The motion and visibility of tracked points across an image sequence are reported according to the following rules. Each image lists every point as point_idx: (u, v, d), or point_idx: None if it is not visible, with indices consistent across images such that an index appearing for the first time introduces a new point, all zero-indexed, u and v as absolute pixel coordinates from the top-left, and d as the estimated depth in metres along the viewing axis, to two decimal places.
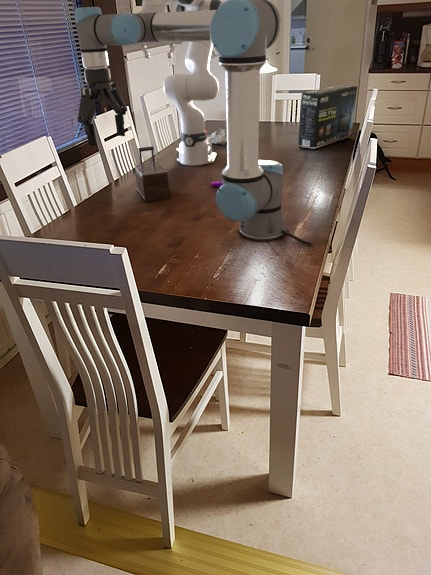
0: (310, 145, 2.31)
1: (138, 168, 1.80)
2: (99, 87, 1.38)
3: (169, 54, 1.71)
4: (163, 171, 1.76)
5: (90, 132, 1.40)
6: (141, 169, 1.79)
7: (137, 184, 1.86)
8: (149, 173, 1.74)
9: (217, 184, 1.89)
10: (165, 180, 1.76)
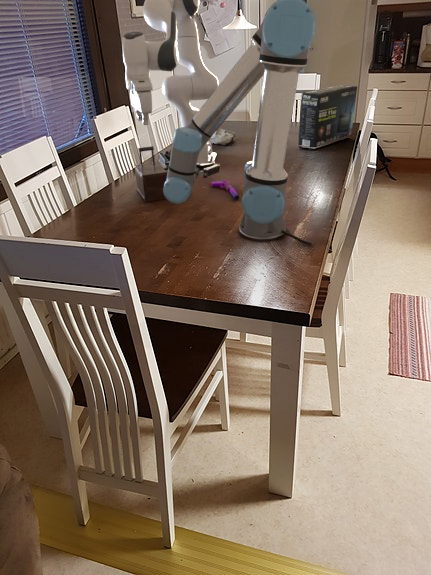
0: (310, 145, 2.31)
1: (138, 168, 1.80)
2: None
3: None
4: (163, 171, 1.76)
5: (213, 161, 1.53)
6: (141, 169, 1.79)
7: (137, 184, 1.86)
8: (149, 173, 1.74)
9: (217, 184, 1.89)
10: (165, 180, 1.76)
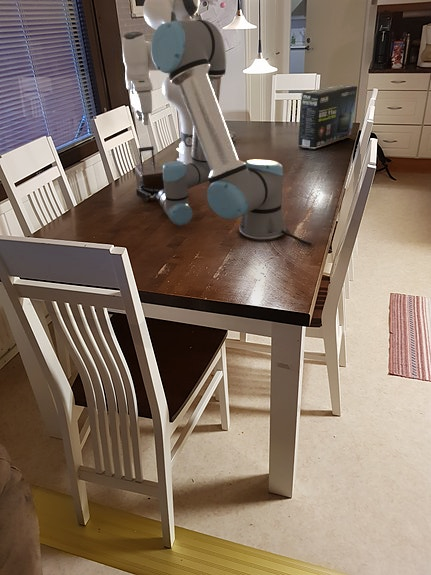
0: (310, 145, 2.31)
1: (138, 168, 1.80)
2: None
3: None
4: None
5: None
6: (141, 169, 1.79)
7: (137, 184, 1.86)
8: (149, 173, 1.74)
9: None
10: None
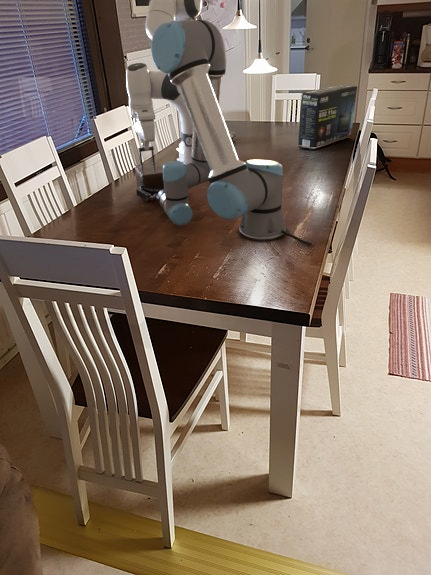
0: (310, 145, 2.31)
1: (138, 168, 1.80)
2: None
3: None
4: None
5: None
6: (141, 169, 1.79)
7: (137, 184, 1.86)
8: (149, 173, 1.74)
9: None
10: None
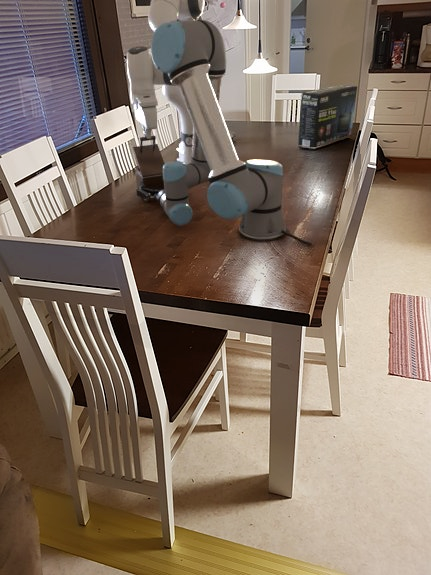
0: (310, 145, 2.31)
1: (137, 157, 1.76)
2: None
3: None
4: None
5: None
6: (141, 160, 1.75)
7: (137, 184, 1.86)
8: (149, 172, 1.73)
9: None
10: None
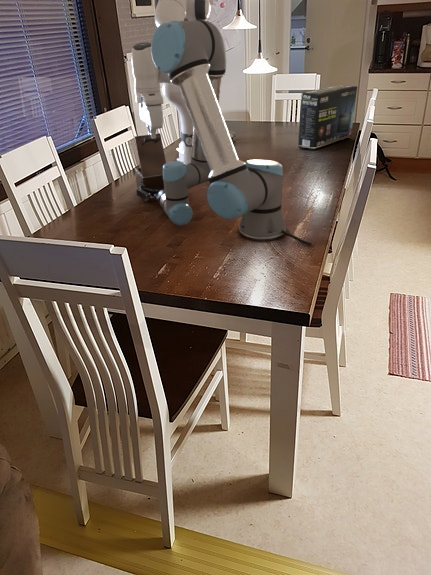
0: (310, 145, 2.31)
1: (138, 151, 1.71)
2: None
3: None
4: None
5: None
6: (142, 155, 1.71)
7: (137, 184, 1.86)
8: (150, 172, 1.73)
9: None
10: None
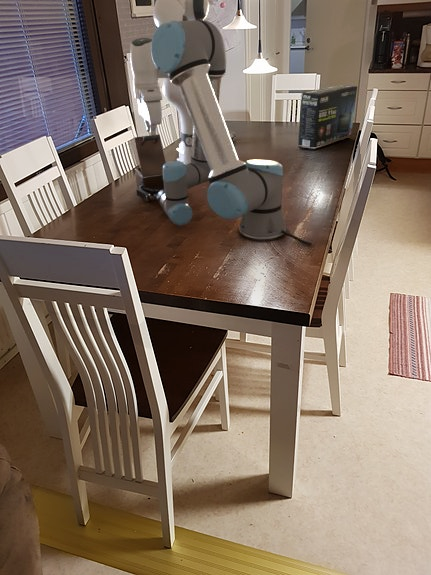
0: (310, 145, 2.31)
1: (138, 151, 1.72)
2: None
3: None
4: None
5: None
6: (142, 156, 1.72)
7: (137, 184, 1.86)
8: (150, 171, 1.73)
9: None
10: None
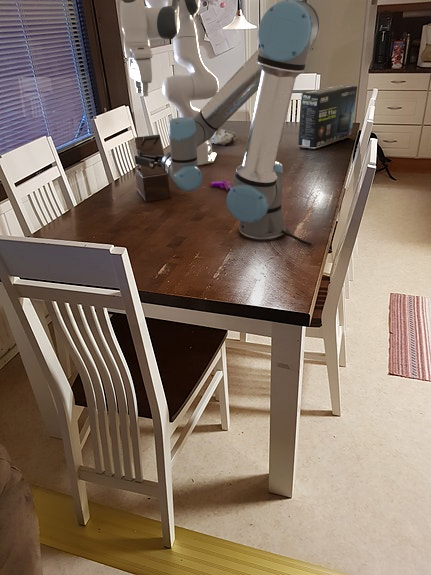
0: (310, 145, 2.31)
1: None
2: None
3: None
4: None
5: None
6: None
7: (137, 184, 1.86)
8: (150, 171, 1.73)
9: (217, 184, 1.89)
10: (165, 180, 1.76)
